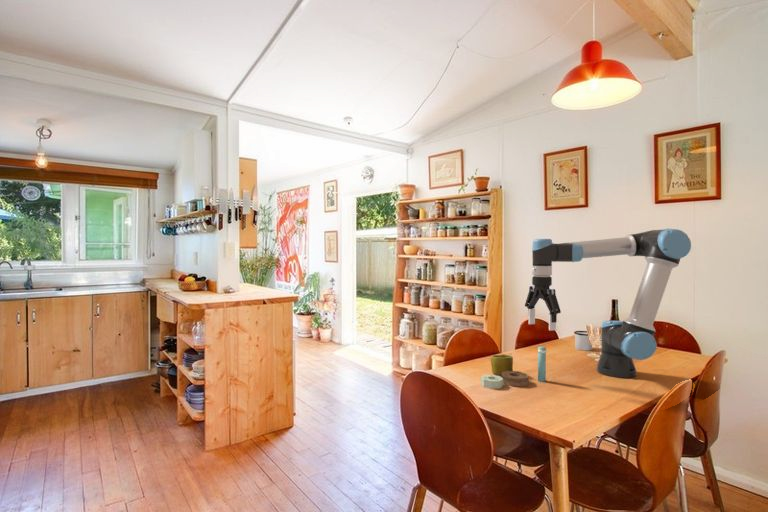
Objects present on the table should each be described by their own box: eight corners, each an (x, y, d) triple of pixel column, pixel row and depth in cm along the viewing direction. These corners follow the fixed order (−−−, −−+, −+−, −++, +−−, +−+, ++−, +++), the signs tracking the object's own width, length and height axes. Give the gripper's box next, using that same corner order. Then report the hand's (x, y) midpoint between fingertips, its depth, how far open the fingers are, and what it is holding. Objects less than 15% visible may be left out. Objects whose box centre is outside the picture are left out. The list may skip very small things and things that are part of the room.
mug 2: (587, 352, 214) (587, 335, 214) (570, 348, 222) (570, 332, 222) (598, 348, 221) (599, 332, 221) (581, 345, 229) (582, 329, 229)
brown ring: (526, 379, 170) (526, 371, 170) (528, 387, 160) (528, 379, 160) (501, 377, 173) (501, 370, 173) (502, 385, 163) (502, 377, 163)
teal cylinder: (545, 379, 170) (545, 346, 169) (546, 382, 167) (546, 348, 166) (537, 379, 170) (537, 346, 170) (538, 381, 167) (538, 348, 167)
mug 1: (518, 374, 170) (510, 351, 173) (494, 380, 172) (487, 357, 175) (517, 371, 182) (509, 349, 184) (494, 377, 184) (487, 355, 186)
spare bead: (497, 381, 168) (497, 374, 167) (505, 388, 160) (505, 380, 160) (478, 382, 167) (478, 375, 166) (486, 389, 159) (486, 381, 159)
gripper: (516, 274, 179) (516, 322, 179) (553, 278, 155) (553, 333, 155) (531, 274, 181) (531, 321, 181) (570, 278, 156) (570, 332, 157)
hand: (541, 327), depth 168 cm, fingers open, 13 cm apart
